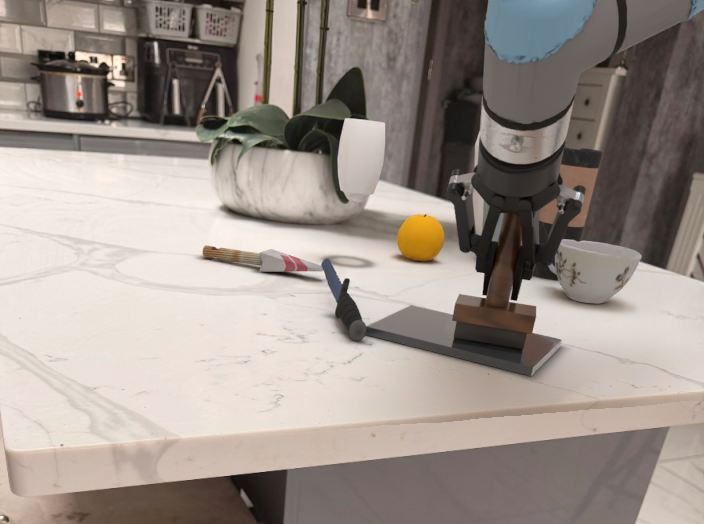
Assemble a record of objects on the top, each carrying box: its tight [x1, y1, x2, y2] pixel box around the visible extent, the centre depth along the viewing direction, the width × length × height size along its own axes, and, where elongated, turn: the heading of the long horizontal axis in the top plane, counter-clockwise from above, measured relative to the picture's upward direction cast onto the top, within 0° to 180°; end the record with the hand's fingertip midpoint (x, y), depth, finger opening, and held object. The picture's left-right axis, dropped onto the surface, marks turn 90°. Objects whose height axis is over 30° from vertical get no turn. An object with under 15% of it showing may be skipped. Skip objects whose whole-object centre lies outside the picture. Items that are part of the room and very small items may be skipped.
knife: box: [320, 257, 367, 342], centre depth 96 cm, size 24×2×5 cm, turn 10°
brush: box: [452, 213, 537, 349], centre depth 85 cm, size 9×5×14 cm, turn 76°
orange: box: [396, 213, 445, 262], centre depth 131 cm, size 8×8×8 cm
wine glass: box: [336, 117, 386, 205], centre depth 120 cm, size 7×7×21 cm
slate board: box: [365, 304, 563, 377], centre depth 91 cm, size 20×14×1 cm
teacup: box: [548, 239, 643, 305], centre depth 117 cm, size 15×12×8 cm
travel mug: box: [533, 146, 603, 281], centre depth 127 cm, size 8×8×20 cm
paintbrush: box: [202, 245, 324, 273], centre depth 113 cm, size 4×3×20 cm
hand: (502, 287), depth 90 cm, fingers closed on brush, 3 cm apart
